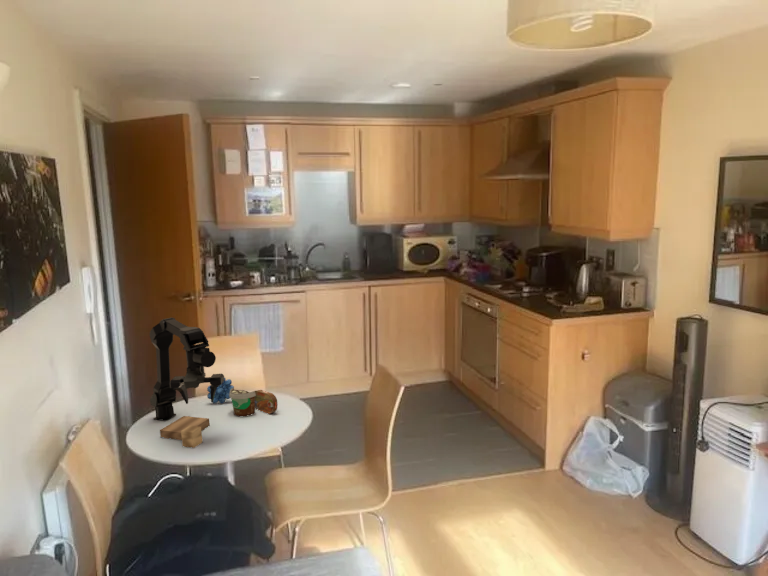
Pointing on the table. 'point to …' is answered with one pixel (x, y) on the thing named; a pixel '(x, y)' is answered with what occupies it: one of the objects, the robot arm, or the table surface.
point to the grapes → (221, 391)
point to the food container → (242, 402)
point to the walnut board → (183, 426)
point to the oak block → (191, 436)
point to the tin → (265, 401)
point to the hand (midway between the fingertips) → (199, 402)
